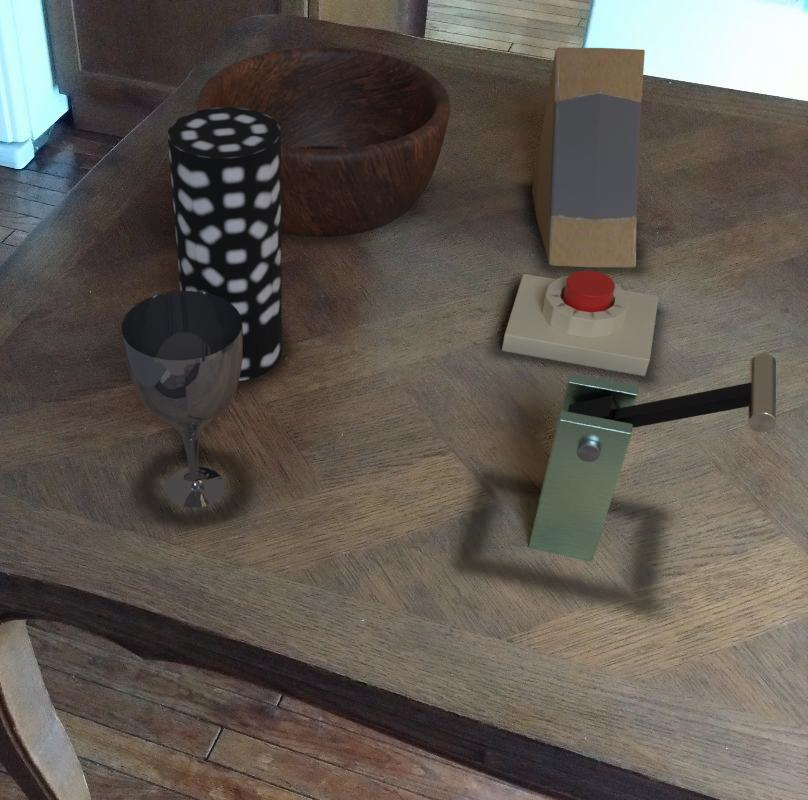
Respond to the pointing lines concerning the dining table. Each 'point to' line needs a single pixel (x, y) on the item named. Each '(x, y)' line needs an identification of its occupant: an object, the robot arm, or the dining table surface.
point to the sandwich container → (590, 158)
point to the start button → (589, 291)
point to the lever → (700, 402)
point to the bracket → (582, 471)
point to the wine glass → (185, 374)
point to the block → (581, 327)
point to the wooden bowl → (341, 132)
